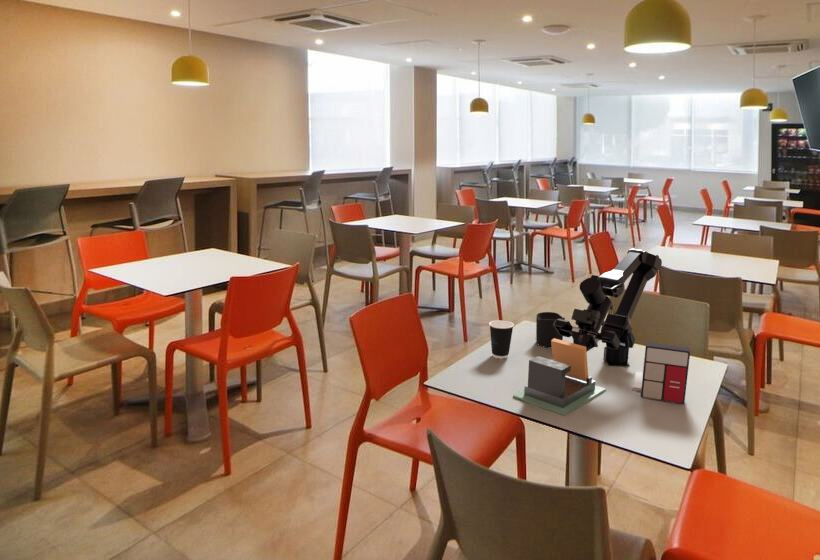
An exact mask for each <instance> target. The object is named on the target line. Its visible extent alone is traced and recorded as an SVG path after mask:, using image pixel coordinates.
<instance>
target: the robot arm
mask: <svg viewBox="0 0 820 560" xmlns="http://www.w3.org/2000/svg"><path fill="white" fill-rule="evenodd" d="M662 263H663V261H662V259H661V258H660V256H659V255H658V254H654V253H649V251H646V250H644V249H639V248H629V249H628V251H627V253H626V255H625V256H624V257H623V258H622V259H621V260H620V261H619V263H618V264H617V265H616V266H615V267H614V268H613V269H611V270H609V271H606V272H603V273H602V274H601V275H596V274H592V275H591V276H590V277H588V278H585V279H584V280H582V281H581V282H580V284H579V291H580V292H581V294H582V296H583V298H584V300H585V301H586V303H588V306H587V308H586V309H579V308H573V311H572V315H571V320H572V321H574V324H575V325H572V324H571V322H570V321H569V320H566V319H565V320H562V319H557V320H556V321H555V322H554V324H553V326H554V328H555V329H556V331H557V332H558V334H559V335H561V336H563V337H565V338H572V343H574V344H578V345H581V346H585V347H586V352H588V351H590V350H592V349H594V348H598V347H599V341H601V343H603V344H605V346H604V348H603V360H604V361H605V363H606V364H607V365H608V366H610V367H629V366H630V363H629V353H630V352H629V350H630V349H632V348H634V345H635V341H636V338H635V335H634V334H633V326H632V321H631V320H632V317H633V314H634V313H635V310H636V309H637V308H636V307H637V306H638V303H639V301H640V299H641V297H642V294H643V292H644V290H645V287H646V286H647V283H648V282H649V281H650V280H651V279H653V278H655V276H657V274H658V271H659V270H660V269H661V268H662ZM630 276H631V277H630ZM629 278H630V279H629ZM628 279H629V281H628V284H627V285H626V286H627V287H626V289H625V283H626V281H627V280H628ZM624 290H625V291H624ZM621 295H622V298H621V300H620V302H619V305H618V306H617V308H616V311H615V312H614V313H609V310H613V309H614V308H613V307H614V305H613V301H612V300H611V298H615V299H617V298H619V297H620V296H621ZM610 297H611V298H610Z"/></svg>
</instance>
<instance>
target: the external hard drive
mask: <svg viewBox="0 0 820 560" xmlns="http://www.w3.org/2000/svg"><path fill="white" fill-rule="evenodd" d="M634 373H635V374H634V378H633V382H632V389H631V390H632V391H634V392H635V391H636V392H641V389H642V379H643V371H642V372H641V371H635V372H634Z"/></svg>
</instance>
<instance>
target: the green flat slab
mask: <svg viewBox="0 0 820 560" xmlns="http://www.w3.org/2000/svg"><path fill="white" fill-rule="evenodd" d="M604 392H606V388H604V387H601V386H598V385H595V390H593V391H591V392H589V393H588V394H586V395H584V396H583V397H581V398H579V399H578V400H576V401H574V402H572V403H571V404H569V405H567V406H566V407H564V408H561V407H558V406H555V405H552V404H549V403H546V402H544V401H541V400H538V399H535V398H532V397H529V396H526V395H524V389H522V390H521V391H519V392H517V393H514V394H513V395H512V398H514V399H517V400H519V401H522V402H526V403H527V404H531V405H534V406H536V407H538V408H539V407H540V408H542V409H546V410H548V411H551V412H554V413H556V414H559V415H562V416H565V417H566V416H567V415H568V414H570V413H571V412H573V411H575V410H576V409H578V408H579V407H582V405H585V404H586V403H588V402H589V400H590V401H591V400H593V399H595V398H596V397H598V396H599V395H601V394H602V393H604ZM597 395H598V396H597ZM594 397H595V398H594ZM584 403H585V404H584Z"/></svg>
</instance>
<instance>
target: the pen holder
mask: <svg viewBox="0 0 820 560" xmlns="http://www.w3.org/2000/svg"><path fill="white" fill-rule="evenodd" d="M557 319H562V320H566V317H564V316H561V314H559V313H557V312H553V311H544V312H538V313H537V314H536V320H535V321H536V323H535V324H536V328H535V329H536V330H535V331H536V333H535V339H536V340H535V341H536V344H537V345H538V344H539V345H538V346H540V345H541V346H540V347H543V346H544V347H543V348H548V347H552V346H551V340H552V339H554V338H555V339H559V340H562V341H564V339H563V337H564V336H561V335H559V334H558V332H557V331H556V329H555V328H554V326H553V324H554V322H555V321H556V320H557Z"/></svg>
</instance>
